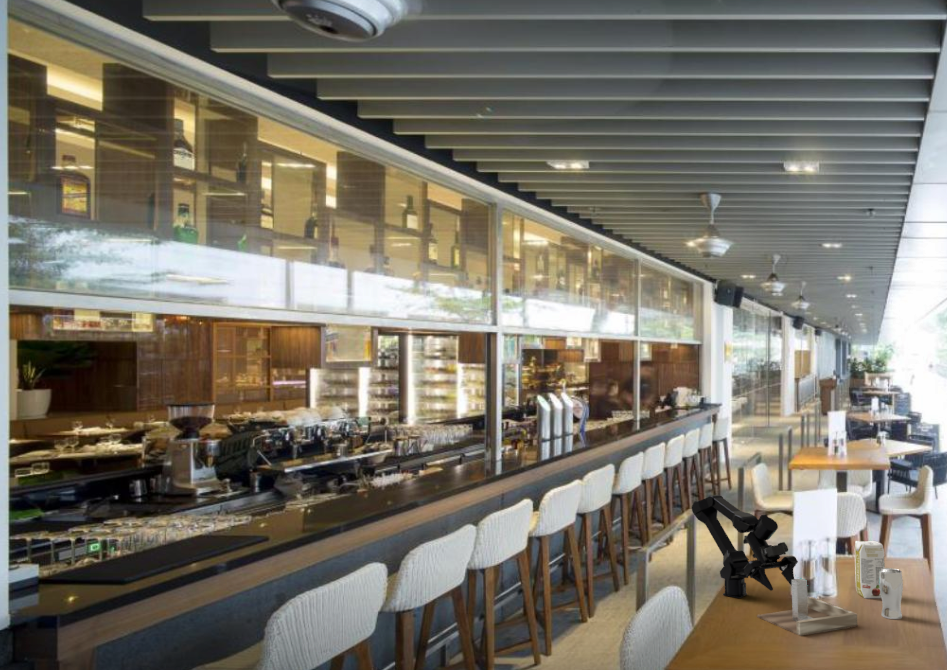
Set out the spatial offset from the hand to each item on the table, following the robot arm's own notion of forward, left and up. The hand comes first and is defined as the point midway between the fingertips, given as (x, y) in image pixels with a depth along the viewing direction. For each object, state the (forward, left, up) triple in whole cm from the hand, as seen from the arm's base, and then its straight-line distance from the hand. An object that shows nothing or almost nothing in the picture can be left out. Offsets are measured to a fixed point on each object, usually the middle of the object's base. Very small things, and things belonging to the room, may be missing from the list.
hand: (783, 588), depth 272 cm
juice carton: (+16, +40, -9) cm, 44 cm away
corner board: (+8, -2, -9) cm, 12 cm away
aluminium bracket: (+8, -5, -8) cm, 13 cm away
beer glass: (+28, +20, -9) cm, 36 cm away
